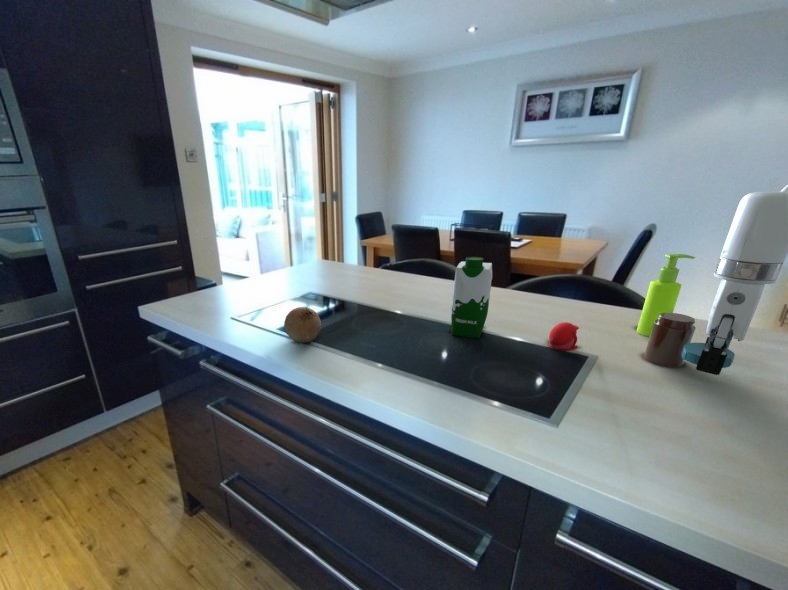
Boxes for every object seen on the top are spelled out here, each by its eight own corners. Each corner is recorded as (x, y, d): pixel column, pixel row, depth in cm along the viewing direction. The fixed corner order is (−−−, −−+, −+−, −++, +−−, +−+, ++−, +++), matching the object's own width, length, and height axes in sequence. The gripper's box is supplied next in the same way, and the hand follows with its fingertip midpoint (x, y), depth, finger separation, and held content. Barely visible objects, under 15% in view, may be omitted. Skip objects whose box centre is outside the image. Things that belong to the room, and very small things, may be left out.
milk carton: (447, 336, 101) (454, 259, 93) (453, 324, 109) (460, 252, 101) (483, 340, 97) (492, 261, 90) (486, 328, 105) (496, 254, 97)
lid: (687, 348, 77) (689, 339, 76) (735, 359, 71) (739, 349, 71) (675, 359, 73) (678, 350, 72) (726, 372, 68) (729, 362, 67)
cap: (571, 356, 88) (577, 332, 85) (543, 350, 91) (547, 326, 89) (580, 345, 93) (585, 322, 91) (553, 339, 97) (557, 316, 95)
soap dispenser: (675, 338, 95) (702, 256, 88) (644, 337, 96) (668, 256, 89) (661, 329, 101) (685, 252, 93) (631, 328, 102) (653, 252, 94)
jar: (671, 358, 86) (686, 312, 82) (688, 371, 80) (706, 323, 76) (637, 355, 87) (650, 311, 83) (651, 369, 81) (666, 321, 77)
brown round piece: (314, 354, 100) (322, 326, 93) (278, 346, 99) (284, 318, 92) (319, 329, 107) (326, 302, 100) (285, 321, 106) (290, 293, 99)
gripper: (779, 284, 57) (734, 389, 64) (778, 264, 68) (739, 356, 75) (711, 276, 62) (676, 374, 69) (720, 259, 73) (689, 345, 80)
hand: (709, 364), depth 72 cm, fingers closed on lid, 7 cm apart
